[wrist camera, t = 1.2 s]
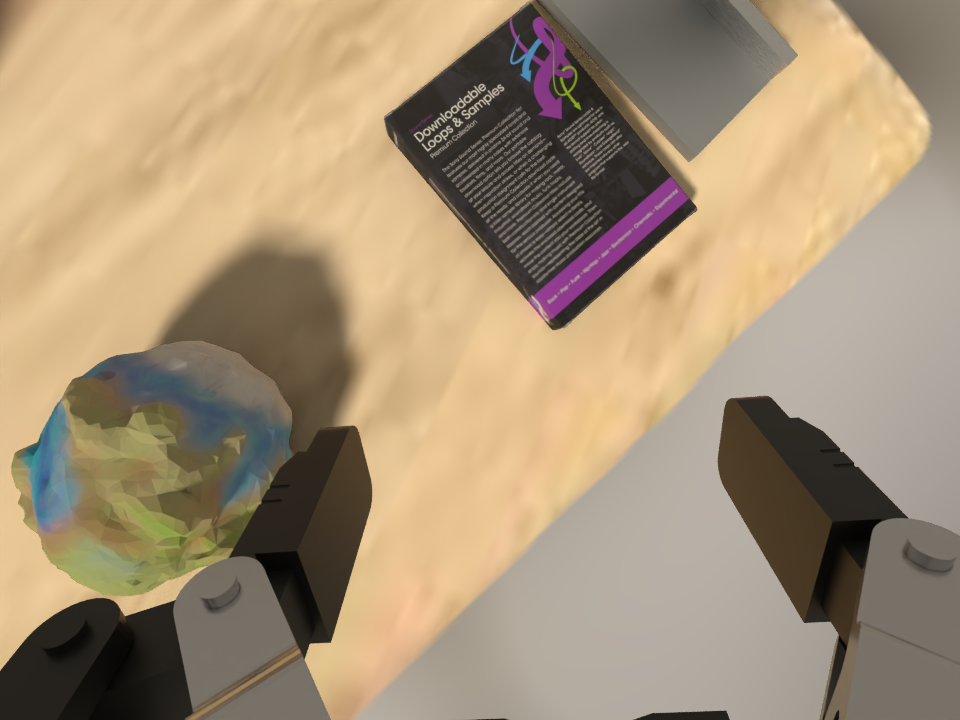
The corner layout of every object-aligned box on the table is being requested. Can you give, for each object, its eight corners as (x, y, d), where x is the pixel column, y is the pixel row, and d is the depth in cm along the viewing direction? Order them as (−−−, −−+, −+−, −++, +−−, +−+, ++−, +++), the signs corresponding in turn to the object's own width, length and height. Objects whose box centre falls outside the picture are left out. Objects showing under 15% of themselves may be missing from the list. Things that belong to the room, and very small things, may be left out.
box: (676, 222, 41) (522, 25, 40) (701, 209, 38) (533, -8, 36) (548, 333, 40) (383, 133, 38) (561, 330, 36) (380, 110, 35)
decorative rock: (160, 333, 22) (-177, 514, 21) (359, 589, 27) (98, 742, 26) (235, 288, 35) (30, 398, 34) (359, 466, 40) (185, 566, 39)
